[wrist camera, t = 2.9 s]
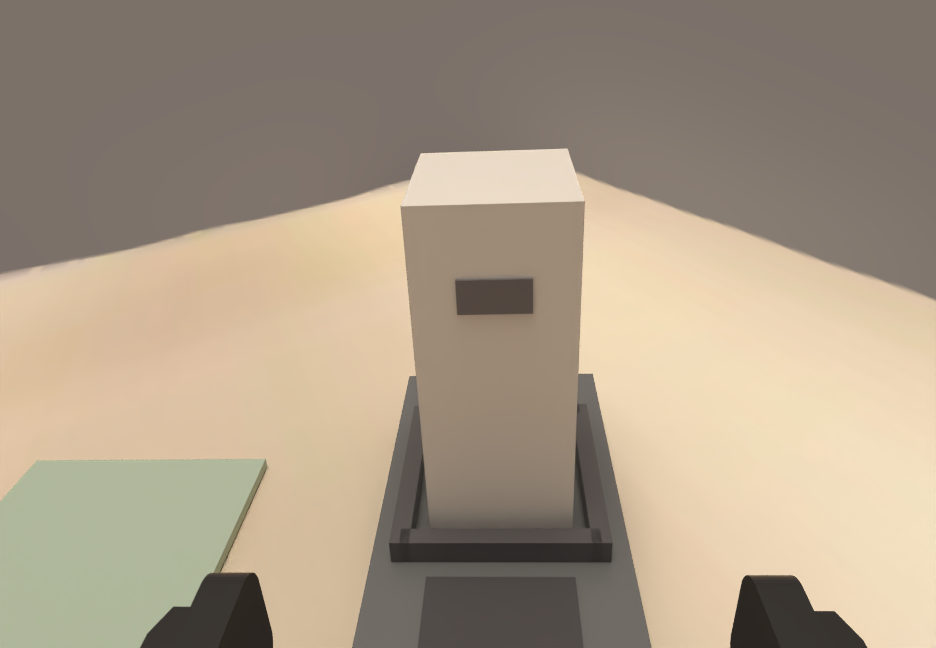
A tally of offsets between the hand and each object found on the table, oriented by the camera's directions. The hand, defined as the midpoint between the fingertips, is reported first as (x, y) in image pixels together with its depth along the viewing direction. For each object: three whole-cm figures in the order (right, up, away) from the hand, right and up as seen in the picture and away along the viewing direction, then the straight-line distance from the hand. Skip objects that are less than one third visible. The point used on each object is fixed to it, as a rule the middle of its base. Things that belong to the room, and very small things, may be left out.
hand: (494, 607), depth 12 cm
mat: (-14, -4, +14) cm, 20 cm away
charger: (+1, -1, +13) cm, 13 cm away
